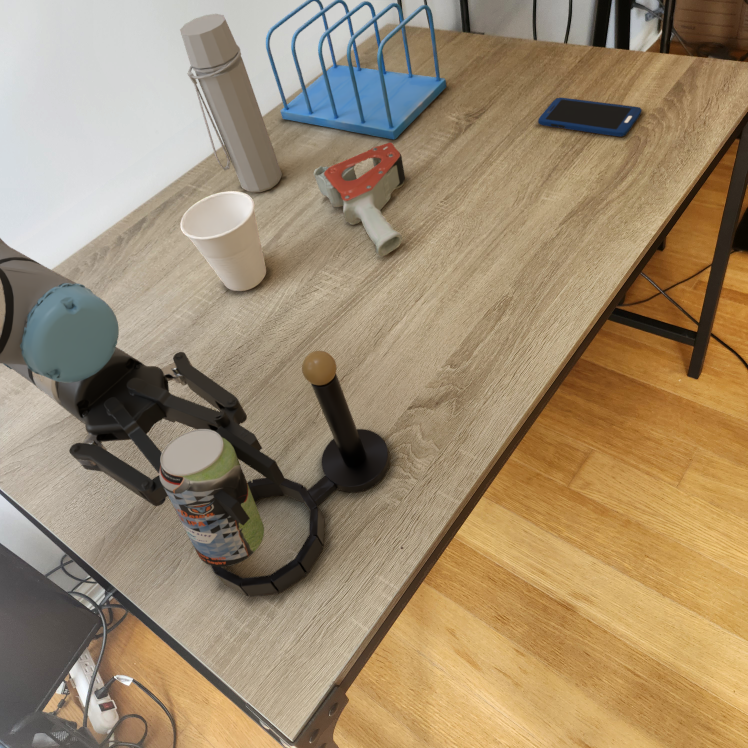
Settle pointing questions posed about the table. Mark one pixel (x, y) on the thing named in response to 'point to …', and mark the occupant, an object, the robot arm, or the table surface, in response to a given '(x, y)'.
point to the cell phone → (590, 116)
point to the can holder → (342, 471)
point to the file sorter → (360, 82)
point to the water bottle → (230, 102)
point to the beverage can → (210, 496)
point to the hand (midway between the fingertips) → (258, 493)
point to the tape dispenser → (366, 192)
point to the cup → (227, 238)
